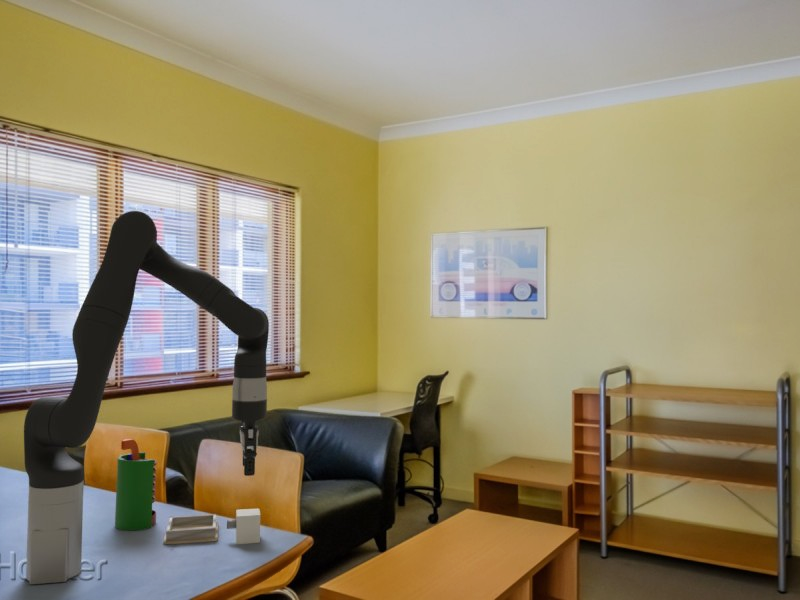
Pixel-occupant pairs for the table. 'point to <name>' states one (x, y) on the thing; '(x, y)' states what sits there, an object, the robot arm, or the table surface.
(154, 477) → the green cutaway cylinder
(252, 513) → the cream cube on peg
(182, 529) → the mount pocket
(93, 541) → the table surface
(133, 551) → the table surface
